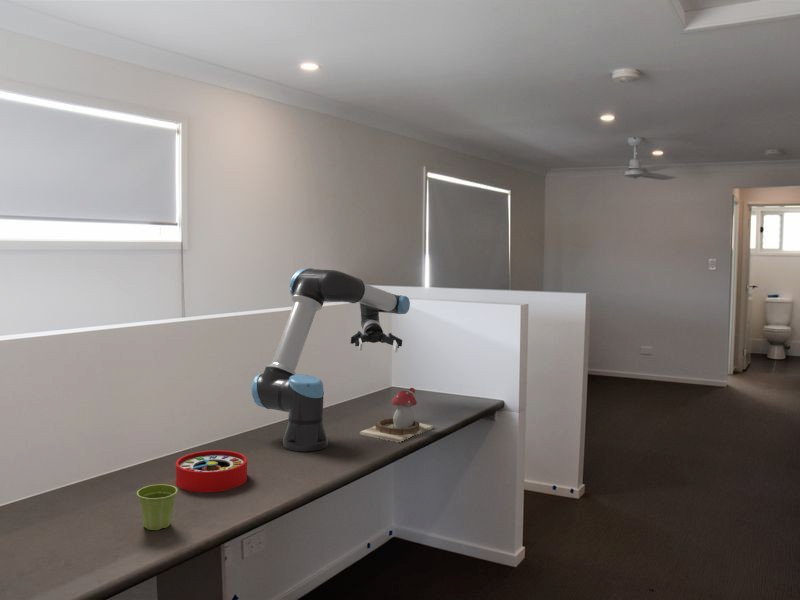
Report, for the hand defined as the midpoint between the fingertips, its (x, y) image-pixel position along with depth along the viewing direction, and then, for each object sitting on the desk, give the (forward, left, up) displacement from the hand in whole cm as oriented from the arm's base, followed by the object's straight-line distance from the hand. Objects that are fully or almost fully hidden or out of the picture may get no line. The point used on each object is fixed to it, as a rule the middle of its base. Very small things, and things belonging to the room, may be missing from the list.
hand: (378, 347), depth 266 cm
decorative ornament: (+8, -10, -29) cm, 31 cm away
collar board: (+6, -11, -29) cm, 32 cm away
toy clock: (-59, -54, -30) cm, 85 cm away
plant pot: (-70, -85, -30) cm, 114 cm away
